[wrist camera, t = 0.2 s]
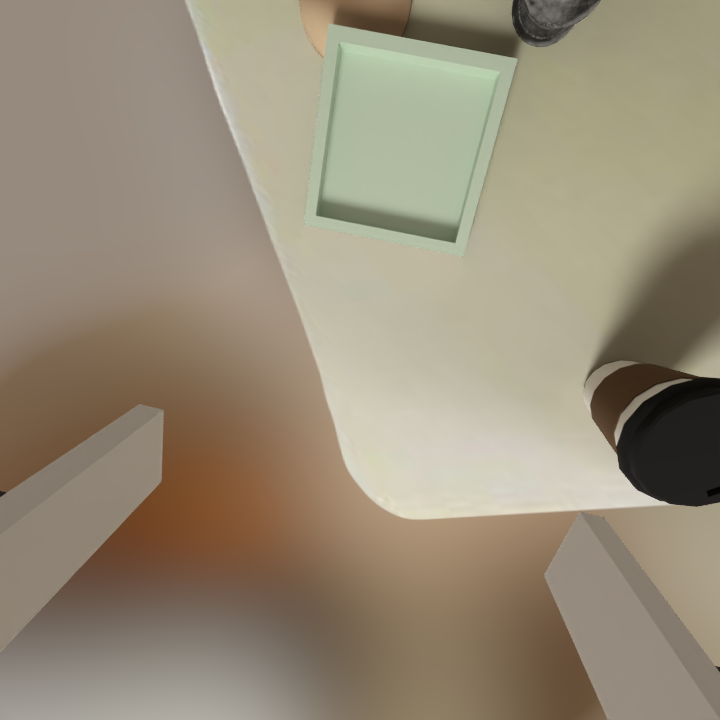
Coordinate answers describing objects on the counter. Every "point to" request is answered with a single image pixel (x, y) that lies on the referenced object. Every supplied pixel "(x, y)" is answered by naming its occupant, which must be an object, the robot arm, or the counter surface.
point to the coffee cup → (660, 429)
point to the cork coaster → (353, 17)
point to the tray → (403, 138)
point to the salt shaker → (548, 19)
